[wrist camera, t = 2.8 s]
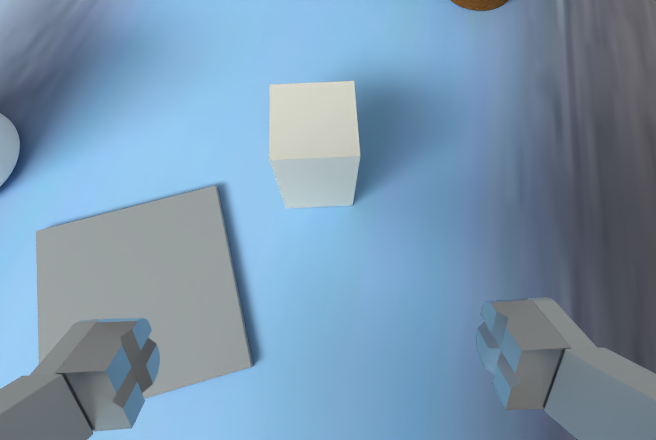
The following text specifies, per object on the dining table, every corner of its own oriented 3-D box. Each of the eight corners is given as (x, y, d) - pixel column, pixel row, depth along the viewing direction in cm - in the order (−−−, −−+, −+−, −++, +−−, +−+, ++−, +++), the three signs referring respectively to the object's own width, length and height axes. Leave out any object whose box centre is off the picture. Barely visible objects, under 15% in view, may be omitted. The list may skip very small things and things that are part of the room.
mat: (253, 366, 22) (251, 366, 21) (48, 426, 21) (40, 429, 20) (218, 188, 25) (215, 185, 25) (43, 233, 24) (35, 231, 24)
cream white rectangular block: (352, 205, 25) (360, 156, 18) (285, 208, 25) (269, 160, 18) (348, 146, 26) (354, 80, 20) (285, 149, 26) (269, 84, 20)
